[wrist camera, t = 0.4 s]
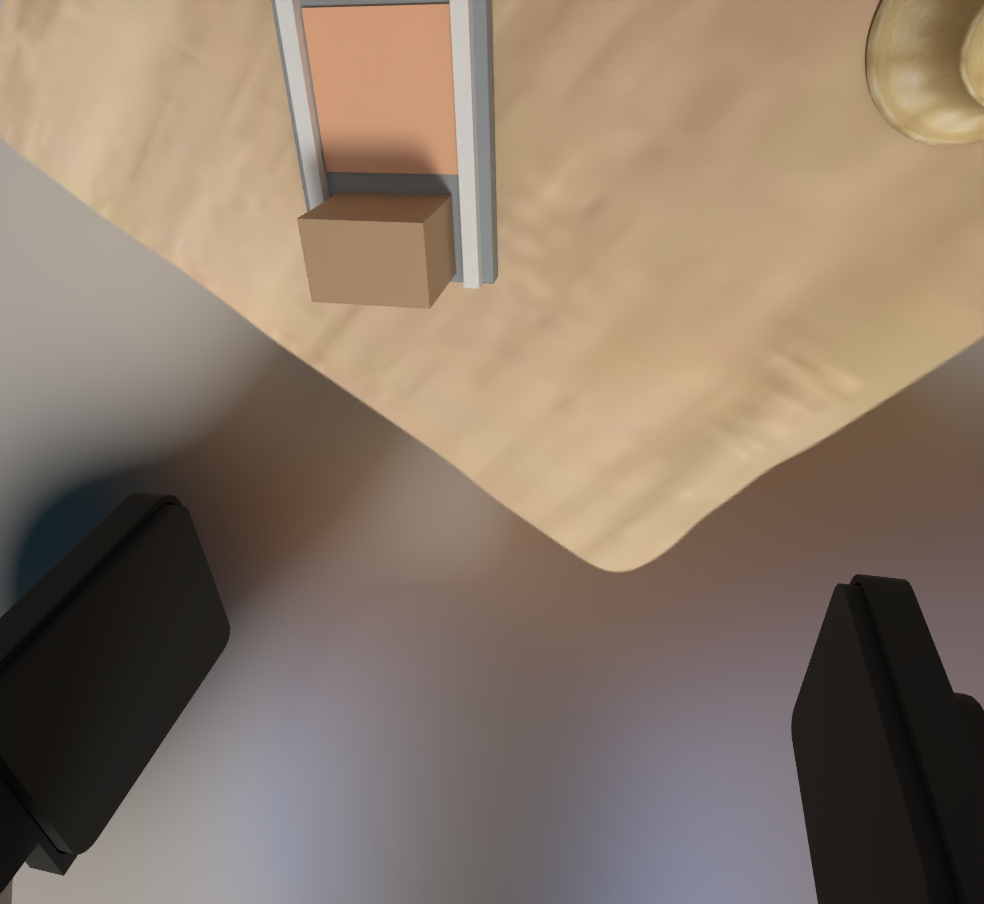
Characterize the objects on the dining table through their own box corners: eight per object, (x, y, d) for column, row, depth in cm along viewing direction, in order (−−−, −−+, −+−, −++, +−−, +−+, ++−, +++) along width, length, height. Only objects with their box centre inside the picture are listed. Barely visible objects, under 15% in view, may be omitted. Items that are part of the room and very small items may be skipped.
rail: (259, -146, 29) (174, -172, 24) (488, -163, 28) (447, -195, 23) (326, 267, 39) (276, 309, 34) (498, 276, 38) (471, 321, 33)
